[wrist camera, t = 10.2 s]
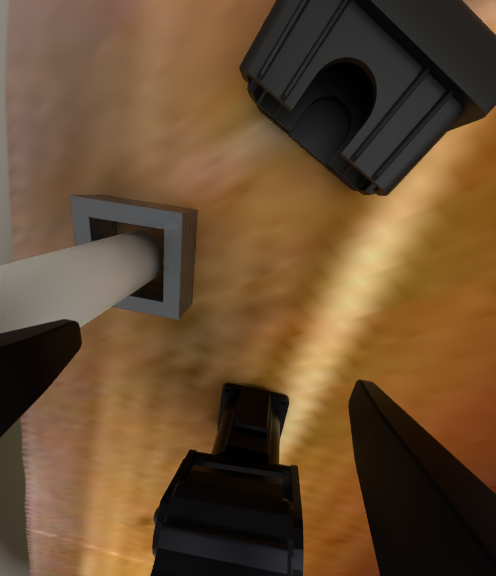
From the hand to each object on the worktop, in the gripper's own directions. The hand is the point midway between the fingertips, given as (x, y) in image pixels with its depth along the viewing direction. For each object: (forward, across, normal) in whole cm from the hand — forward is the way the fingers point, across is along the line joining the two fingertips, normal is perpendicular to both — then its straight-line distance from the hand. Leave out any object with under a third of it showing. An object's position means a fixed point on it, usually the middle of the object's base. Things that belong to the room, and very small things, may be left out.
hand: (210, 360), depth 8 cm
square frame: (+13, +9, +1) cm, 16 cm away
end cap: (+13, -4, -11) cm, 18 cm away
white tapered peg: (+13, +9, +1) cm, 16 cm away
